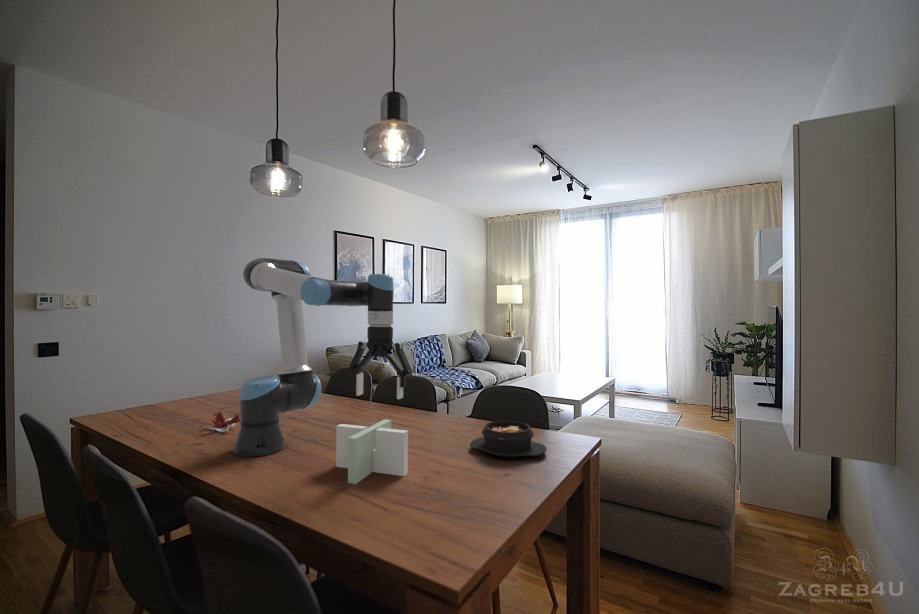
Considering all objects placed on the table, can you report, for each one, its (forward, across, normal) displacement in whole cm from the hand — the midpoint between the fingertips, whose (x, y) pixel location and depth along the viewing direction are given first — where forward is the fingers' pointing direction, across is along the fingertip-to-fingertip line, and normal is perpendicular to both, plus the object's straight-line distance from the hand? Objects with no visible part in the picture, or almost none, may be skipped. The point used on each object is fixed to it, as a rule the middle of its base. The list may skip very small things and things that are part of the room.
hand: (379, 396), depth 126 cm
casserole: (+20, +34, +23) cm, 46 cm away
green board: (+20, 0, -5) cm, 21 cm away
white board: (+20, 0, -5) cm, 21 cm away
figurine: (+21, -74, +12) cm, 77 cm away
